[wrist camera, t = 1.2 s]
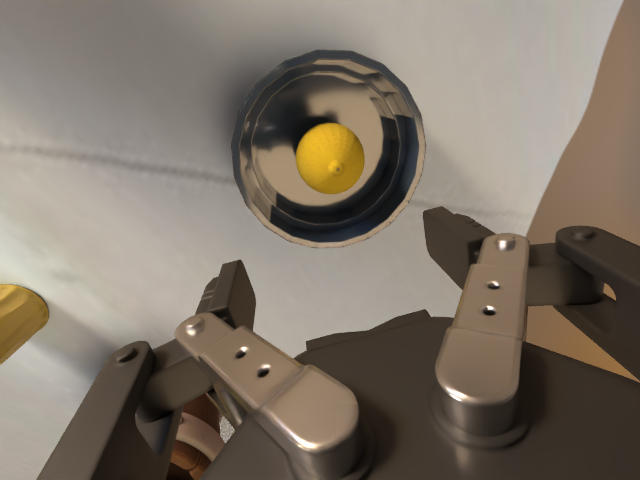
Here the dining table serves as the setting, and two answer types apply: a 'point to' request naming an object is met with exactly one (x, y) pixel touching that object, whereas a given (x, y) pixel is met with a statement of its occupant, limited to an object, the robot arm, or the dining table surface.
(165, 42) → the dining table surface
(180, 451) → the flowerpot
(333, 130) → the lemon
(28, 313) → the vase
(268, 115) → the bowl
